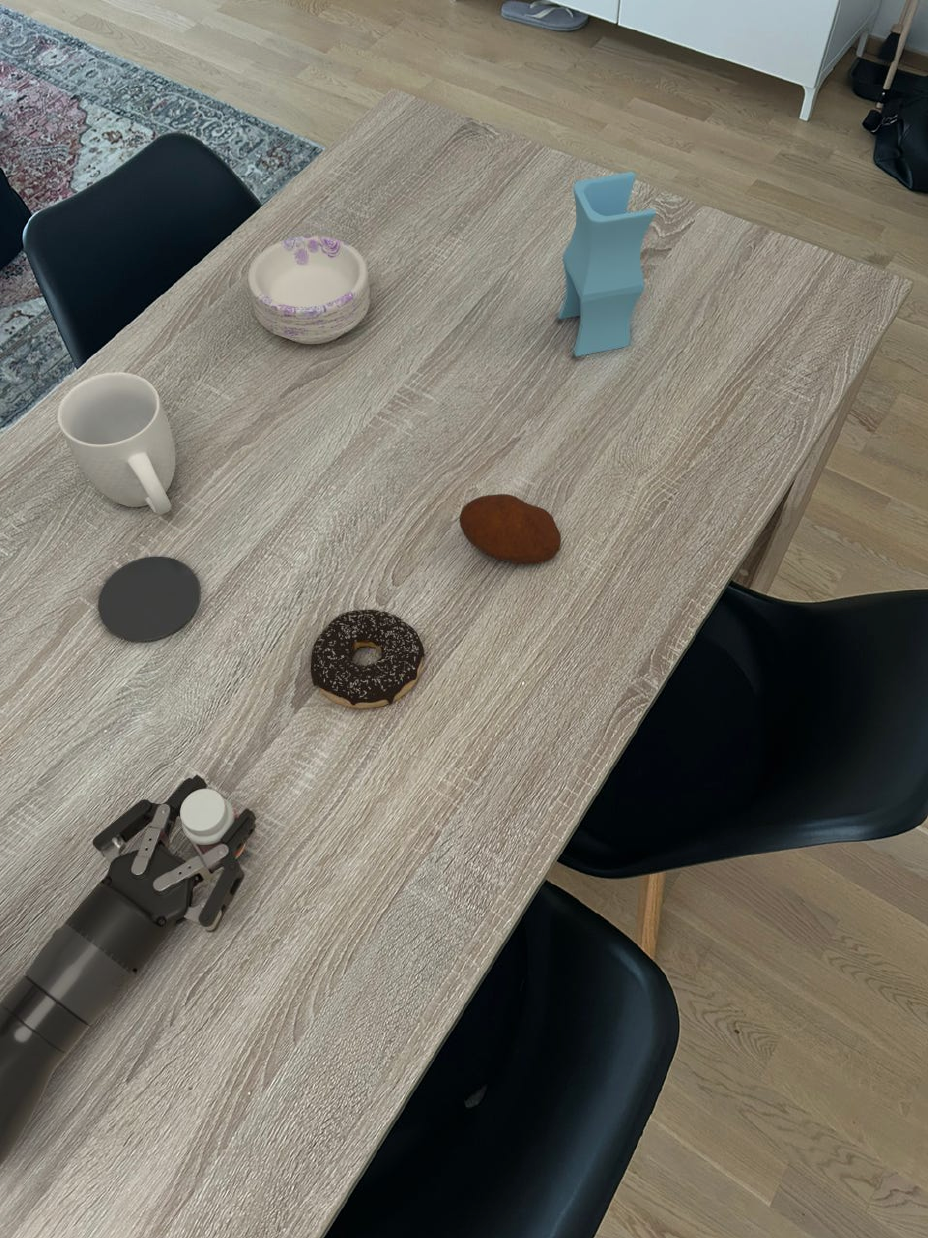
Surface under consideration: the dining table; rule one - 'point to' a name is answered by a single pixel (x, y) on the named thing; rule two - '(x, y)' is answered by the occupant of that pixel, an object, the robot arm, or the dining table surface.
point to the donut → (366, 681)
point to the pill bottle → (206, 819)
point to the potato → (510, 529)
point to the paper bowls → (309, 288)
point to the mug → (121, 438)
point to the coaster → (149, 599)
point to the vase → (604, 263)
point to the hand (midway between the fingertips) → (226, 797)
